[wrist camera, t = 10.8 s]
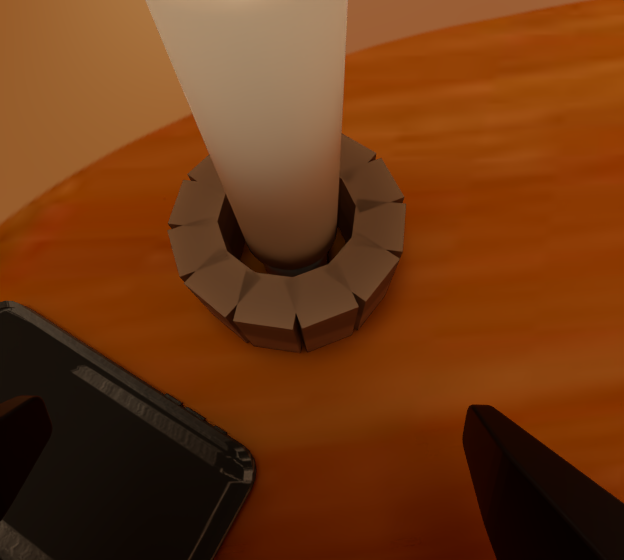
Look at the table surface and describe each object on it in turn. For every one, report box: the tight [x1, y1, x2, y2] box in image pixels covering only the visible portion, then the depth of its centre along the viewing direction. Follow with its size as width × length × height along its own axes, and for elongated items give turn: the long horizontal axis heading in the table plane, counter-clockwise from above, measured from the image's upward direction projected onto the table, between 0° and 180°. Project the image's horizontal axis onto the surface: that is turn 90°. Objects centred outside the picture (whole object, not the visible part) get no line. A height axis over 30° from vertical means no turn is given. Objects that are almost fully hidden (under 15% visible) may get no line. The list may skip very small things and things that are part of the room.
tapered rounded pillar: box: [146, 0, 348, 277], centre depth 13 cm, size 4×4×13 cm
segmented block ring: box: [168, 133, 406, 353], centre depth 17 cm, size 10×10×4 cm
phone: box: [0, 301, 256, 560], centre depth 15 cm, size 8×1×15 cm
